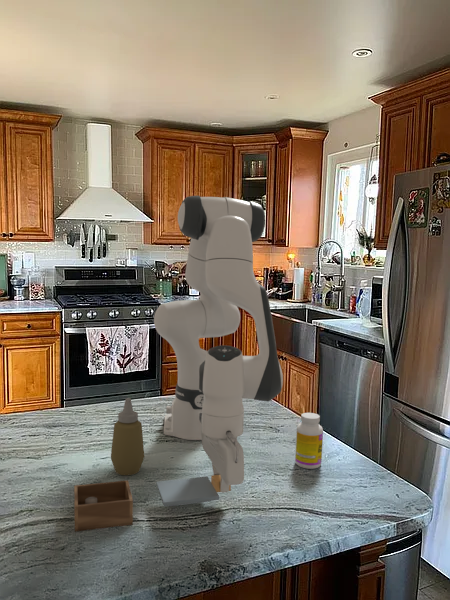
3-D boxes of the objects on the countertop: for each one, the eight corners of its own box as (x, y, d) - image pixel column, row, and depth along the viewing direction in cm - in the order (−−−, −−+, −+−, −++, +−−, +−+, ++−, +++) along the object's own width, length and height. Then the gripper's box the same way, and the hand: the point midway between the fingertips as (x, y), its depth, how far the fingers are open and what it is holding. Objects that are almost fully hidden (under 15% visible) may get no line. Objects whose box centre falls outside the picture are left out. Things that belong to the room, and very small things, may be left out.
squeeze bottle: (150, 467, 130) (151, 396, 128) (134, 480, 122) (134, 405, 120) (121, 461, 132) (121, 392, 130) (103, 474, 125) (104, 401, 123)
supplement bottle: (320, 471, 130) (323, 421, 129) (294, 468, 132) (296, 418, 130) (321, 460, 137) (324, 412, 135) (295, 457, 138) (298, 410, 137)
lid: (156, 488, 113) (156, 474, 113) (222, 481, 118) (222, 467, 117) (163, 510, 104) (163, 494, 104) (235, 501, 109) (235, 486, 108)
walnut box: (74, 508, 109) (74, 485, 108) (128, 502, 112) (128, 480, 111) (74, 531, 100) (74, 506, 100) (132, 524, 103) (133, 500, 103)
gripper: (253, 440, 102) (251, 508, 104) (223, 408, 122) (222, 465, 123) (222, 443, 100) (220, 512, 102) (197, 410, 120) (195, 468, 121)
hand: (221, 486), depth 113 cm, fingers closed on lid, 3 cm apart
